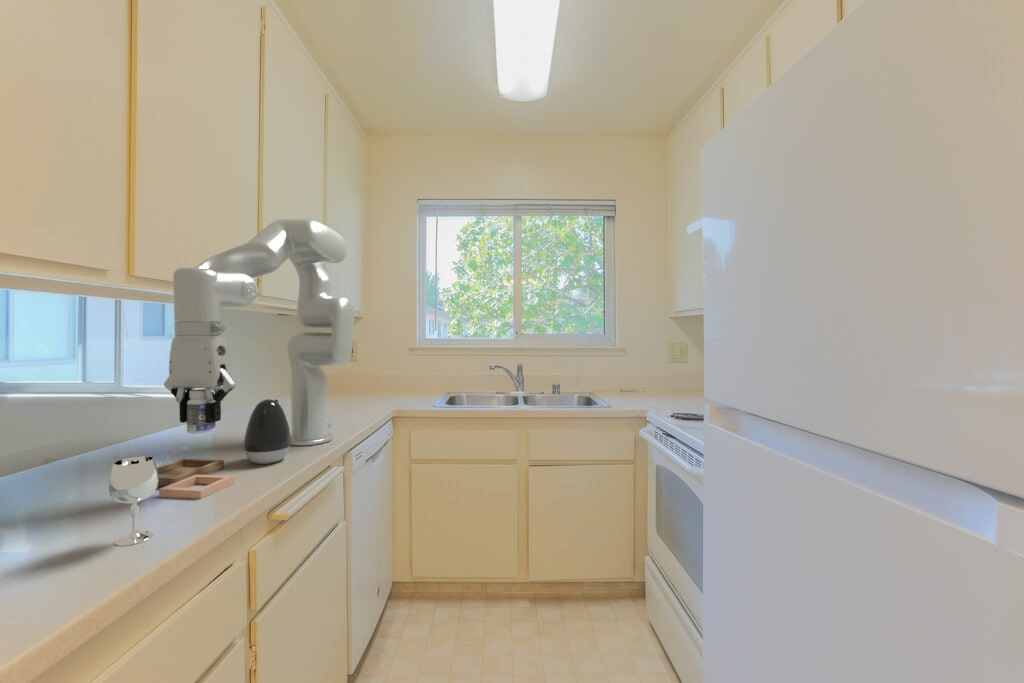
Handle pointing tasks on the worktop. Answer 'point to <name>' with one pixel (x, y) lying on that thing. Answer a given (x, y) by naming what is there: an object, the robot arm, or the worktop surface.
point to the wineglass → (133, 490)
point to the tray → (186, 470)
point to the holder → (182, 491)
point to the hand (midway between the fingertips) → (200, 420)
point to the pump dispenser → (267, 433)
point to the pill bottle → (198, 413)
